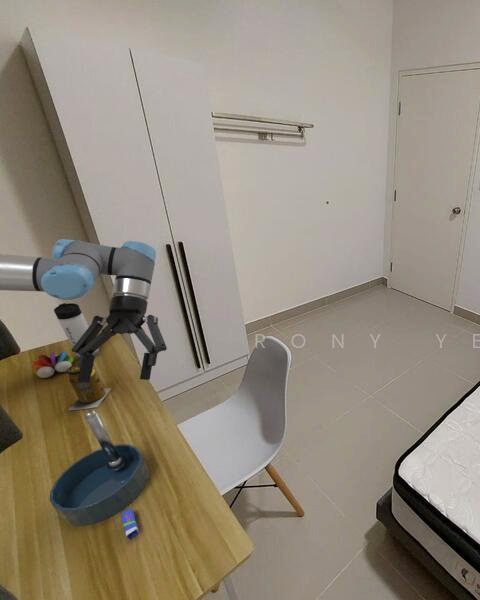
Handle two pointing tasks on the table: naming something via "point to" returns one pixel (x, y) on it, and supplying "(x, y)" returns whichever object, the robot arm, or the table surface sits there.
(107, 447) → the silver-tipped handle
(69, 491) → the bowl
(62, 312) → the travel mug
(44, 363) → the rainbow petal flower
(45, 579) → the table surface
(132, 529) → the eraser
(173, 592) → the table surface
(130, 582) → the table surface
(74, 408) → the condiment
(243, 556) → the table surface
